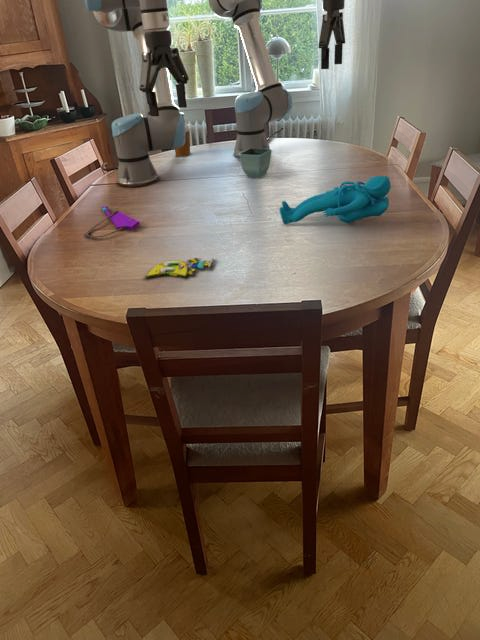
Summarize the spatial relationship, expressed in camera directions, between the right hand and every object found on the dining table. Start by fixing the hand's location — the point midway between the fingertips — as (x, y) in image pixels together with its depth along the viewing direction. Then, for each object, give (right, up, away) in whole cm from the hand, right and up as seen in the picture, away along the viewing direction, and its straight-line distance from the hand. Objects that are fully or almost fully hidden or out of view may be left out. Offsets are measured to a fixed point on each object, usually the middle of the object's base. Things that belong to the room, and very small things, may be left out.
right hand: (331, 66), depth 175 cm
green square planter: (-27, -39, +3) cm, 48 cm away
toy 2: (-7, -65, -39) cm, 76 cm away
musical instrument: (-74, -63, -28) cm, 102 cm away
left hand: (-55, -29, -29) cm, 69 cm away
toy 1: (-48, -80, -57) cm, 110 cm away
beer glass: (-59, -19, +39) cm, 73 cm away
